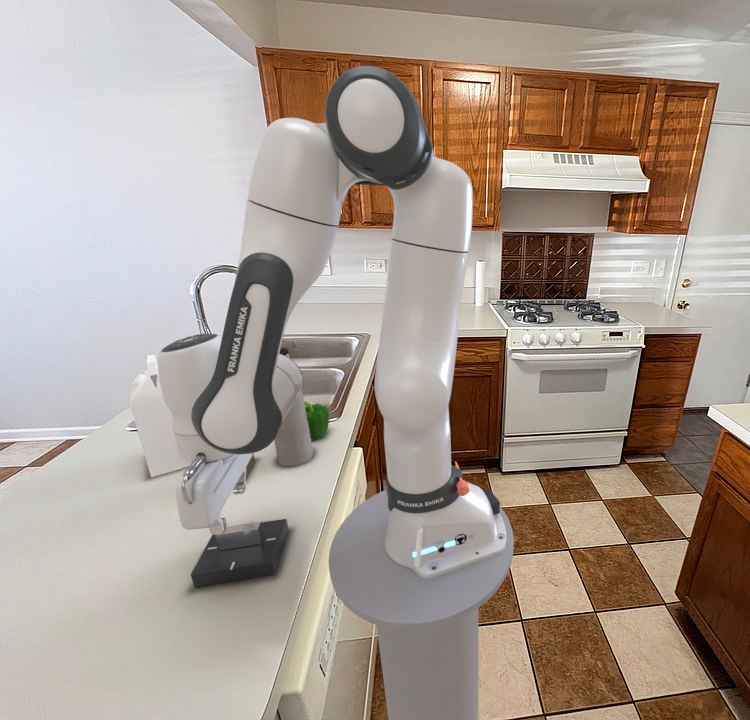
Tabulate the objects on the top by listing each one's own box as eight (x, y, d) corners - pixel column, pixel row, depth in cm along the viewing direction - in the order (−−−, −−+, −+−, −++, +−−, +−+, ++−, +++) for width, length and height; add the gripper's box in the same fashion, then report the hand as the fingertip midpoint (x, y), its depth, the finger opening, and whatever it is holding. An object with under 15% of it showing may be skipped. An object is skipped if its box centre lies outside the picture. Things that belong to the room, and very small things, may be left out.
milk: (210, 459, 97) (183, 360, 88) (151, 477, 91) (114, 372, 81) (206, 439, 106) (181, 347, 97) (152, 453, 99) (119, 356, 90)
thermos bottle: (309, 444, 104) (291, 342, 94) (316, 459, 97) (298, 352, 88) (275, 454, 99) (253, 348, 90) (281, 470, 93) (258, 359, 83)
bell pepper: (338, 432, 109) (333, 399, 106) (312, 446, 103) (307, 412, 99) (318, 424, 113) (313, 392, 110) (292, 437, 107) (286, 404, 103)
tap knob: (264, 537, 70) (259, 520, 69) (261, 544, 68) (257, 527, 67) (223, 543, 69) (218, 526, 67) (219, 550, 67) (214, 533, 66)
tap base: (289, 529, 76) (286, 516, 75) (274, 576, 66) (271, 562, 65) (220, 539, 73) (216, 526, 72) (193, 590, 63) (188, 575, 62)
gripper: (207, 476, 52) (228, 556, 57) (255, 406, 71) (268, 471, 76) (152, 481, 51) (178, 563, 56) (216, 409, 70) (231, 475, 74)
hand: (230, 509), depth 66 cm, fingers open, 8 cm apart
